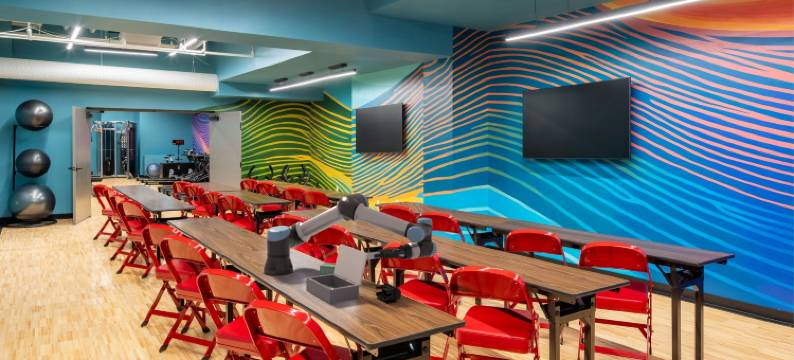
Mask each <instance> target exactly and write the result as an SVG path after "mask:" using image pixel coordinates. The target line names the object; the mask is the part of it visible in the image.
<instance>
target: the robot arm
mask: <svg viewBox="0 0 794 360" xmlns="http://www.w3.org/2000/svg"><path fill="white" fill-rule="evenodd" d="M343 221H346V222H349V221H354V222H356V223H357V222H362V223H365V224H367V225H370V226H372V227H375V228H379V229H381V230H384V231H386V232H390V233H391V234H392V233H393V234H395V235H398V236H399V237H400V236H401V237H403V238H407V239H408V241H409V242H410V243H402V244H400V245H399V246H398V247H394V248H391V247H389V248H386V249H380V250H379V249H378V250H376V251H374V252H367V253H368V255H367V259H366V260H373V259H385V260H386V259H401V260H403V261H404V260H411V259H412V260H415V259H419V258H429V257H432V256H435V255H436V253H437V250H438V248H437V244H436V242H435V241H433V220H432V218H429V217H428V218H427V217H419V218H417V222H416V224H415V223H412V222H410V221H407V220H404V219H401V218H398V217H396V216H393V215H390V214H387V213H384V212H382V211H379V210H376V209H373V208H370V202H369V199H368V198H367V196H366V195H364V194H362V193H358V192H357V193H352V194H349V195H348V194H347V195H344V196H342V197H340V199H339V200H338V201H337V203H336V205H335V206H333V207H331V208H329V209H327V210H325V211H324V212H321V213H319V214H317V215H315V216H314V217H312V218H309V219H307V220H305V221H304V222H302V221H297V222H296V223H293V224H292V225H290V226H286V225H278V226H273V227H270V228H268V230H267V232H266V260H265V263H264V266H263V274H265V275H270V276H282V275H283V276H284V275H289V274H292V273H294V266H293V262H292V258H291V249H293V248H296V247H297V248H298V247H300V246H302V245H303V244H304V243H306V242H308V241H309V240H310V239H311V237H312V236H314V235H316V234H318V233H320V232H322V231H324V230H327V229H329V228H330V227H333V226H335V225H337V224H339V223H341V222H343Z"/></svg>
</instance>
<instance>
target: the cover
mask: <svg viewBox="0 0 794 360" xmlns="http://www.w3.org/2000/svg"><path fill="white" fill-rule="evenodd" d="M368 253H369V252H364V251H361V250H358V249H356V248H353V247H349V246H348V245H345V244H341V243H340V245H339V250H338V253H337V258H336V262H335V264H336V266H335V270H334V274H336V275H338V276H341V277H343V278H345V279H347V280H348V281H351V282H353V283H355V284H357V285H359V286H361V284H362V281H363V277H364V276H363V275H364V272H365V266H366V263H367V260H368V259H367V255H368Z"/></svg>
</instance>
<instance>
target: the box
mask: <svg viewBox="0 0 794 360" xmlns="http://www.w3.org/2000/svg"><path fill="white" fill-rule="evenodd" d="M335 266H336V263H330V262H324V263H322V264H321V265H319V276H321V275H329V274H334V270H335ZM335 275H336V274H335ZM340 277H341V276H340ZM342 278H343V277H342ZM344 279H345V278H344ZM346 280H347V279H346Z"/></svg>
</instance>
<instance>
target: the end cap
mask: <svg viewBox="0 0 794 360" xmlns="http://www.w3.org/2000/svg"><path fill="white" fill-rule="evenodd" d="M375 290H380V291H376V292H375V296H376V300H378V301H379V302H382V303H384V304H385V305H391V304H395V303H397V301H399V300H400V299H401V297H402V291H401V289H400V288H399V287H397V286H395V285H393V284H391V283H388V282H383V284H378V285H376V286H375Z"/></svg>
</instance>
